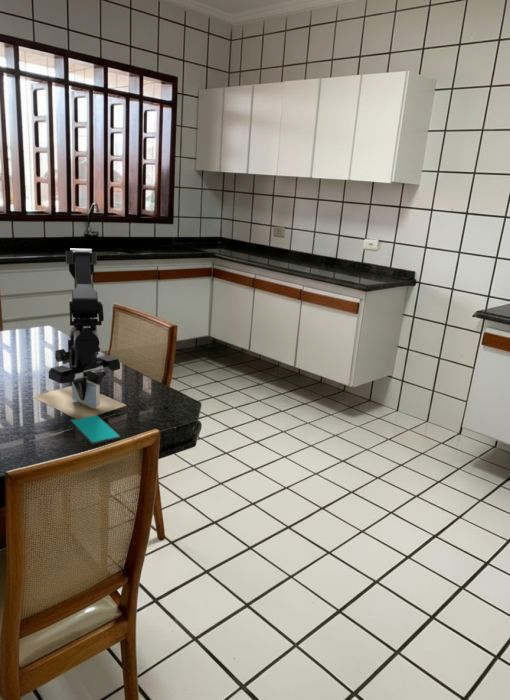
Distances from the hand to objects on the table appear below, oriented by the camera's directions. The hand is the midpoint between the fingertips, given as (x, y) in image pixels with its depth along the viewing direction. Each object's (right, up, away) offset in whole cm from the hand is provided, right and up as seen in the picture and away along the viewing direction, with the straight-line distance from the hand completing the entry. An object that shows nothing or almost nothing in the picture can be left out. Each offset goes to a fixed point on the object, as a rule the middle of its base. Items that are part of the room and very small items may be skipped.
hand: (86, 398), depth 145 cm
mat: (-3, -1, +3) cm, 5 cm away
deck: (0, -1, 0) cm, 1 cm away
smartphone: (+6, -7, -12) cm, 15 cm away
